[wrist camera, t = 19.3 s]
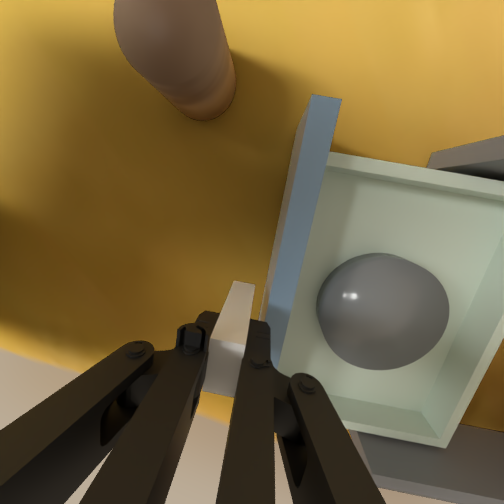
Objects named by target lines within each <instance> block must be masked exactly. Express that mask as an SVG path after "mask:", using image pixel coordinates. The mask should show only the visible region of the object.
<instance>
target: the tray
mask: <svg viewBox="0 0 504 504" xmlns="http://www.w3.org/2000/svg"><path fill="white" fill-rule="evenodd" d="M341 101H342V99H338V98H332V97H326V96H320V95H314V94H312V96H311V98H310V100H309V102H308V105H307V107H306V109H305V111H304V114H303V116H302V118H301V120H300V122H299V125H298V127H297V130H296V135H295V140H294V145H293V150H292V155H291V160H290V165H289V170H288V175H287V180H286V185H285V190H284V195H283V200H282V205H281V210H280V215H279V220H278V225H277V229H276V234H275V239H274V244H273V249H272V254H271V259H270V264H269V269H268V274H267V279H266V284H265V289H264V294H263V299H262V304H261V309H260V314H259V319H258V321H263V322H267V323H268V325H269V326H270V328H271V334H270V335H271V339H270V340H271V361H272V363H273V366H274V367H275V369H276V370H278V371H279V372H280V373H282V374H284V375H286V376H288V377H290V378H291V377H292V375H294V374H295V373H307V374H309V375H311V376H313V377H315V378H316V379H317V380H318V381H319V382H320V383H321V384H322V386H323V388H324V389H325V391H326V393H327V395H328V397H329V399H330V401H331V402H332V404H333V406H334V408H335V410H336V412H337V414H338V415H339V417H340V419H341V421H342V423H343V425H344V426H345V428H346V429H350V430H355V431H360V432H365V433H370V434H375V435H381V436H386V437H391V438H396V439H401V440H406V441H411V442H416V443H421V444H426V445H431V446H436V447H441V448H446V447H447V445H448V443H449V442H450V440H451V438H452V436H453V434H454V432H455V430H456V428H457V426H458V424H459V422H460V420H461V419H462V417H463V415H464V413H465V411H466V409H467V407H468V405H469V403H470V401H471V399H472V397H473V396H474V394H475V392H476V390H477V388H478V386H479V384H480V382H481V380H482V378H483V376H484V375H485V373H486V371H487V369H488V367H489V365H490V363H491V361H492V359H493V357H494V355H495V353H496V352H497V350H498V348H499V346H500V344H501V342H502V340H503V338H504V181H498V180H492V179H487V178H481V177H475V176H469V175H464V174H458V173H452V172H446V171H440V170H435V169H429V168H423V167H417V166H411V165H406V164H400V163H394V162H388V161H382V160H377V159H371V158H365V157H359V156H354V155H348V154H342V153H336V152H330V147H331V143H332V138H333V134H334V130H335V126H336V122H337V118H338V113H339V109H340V105H341ZM368 253H389V254H393V255H397V256H400V257H402V258H404V259H407V260H409V261H411V262H413V263H415V264H417V265H419V266H421V267H423V268H425V269H426V270H428V271H429V272H431V273H432V274H433V275H434V276H435V277H436V278H437V279H438V280H439V281H440V283H441V284H442V285H443V287H444V289H445V291H446V294H447V297H448V300H449V320H448V324H447V327H446V329H445V332H444V334H443V336H442V337H441V339H440V340H439V342H438V343H437V344H436V345H435V346H434V348H433V349H432V350H430V351H429V352H428V353H427V354H426V355H424V356H423V357H422V358H420V359H418V360H417V361H415V362H413V363H411V364H408V365H406V366H403V367H400V368H396V369H391V370H368V369H363V368H359V367H356V366H354V365H351V364H349V363H347V362H346V361H344V360H343V359H341V358H340V357H339V356H337V355H336V354H335V353H334V352H333V351H332V349H331V348H330V347H329V345H328V344H327V342H326V340H325V338H324V335H323V333H322V330H321V327H320V325H319V322H318V318H317V314H316V301H317V296H318V293H319V290H320V288H321V286H322V284H323V282H324V281H325V279H326V278H327V277H328V275H329V274H330V273H331V272H332V271H333V270H334V269H335V268H336V267H338V266H339V265H341V264H342V263H344V262H345V261H347V260H349V259H351V258H354V257H356V256H359V255H363V254H368Z"/></svg>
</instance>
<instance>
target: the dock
mask: <svg viewBox="0 0 504 504" xmlns="http://www.w3.org/2000/svg"><path fill="white" fill-rule="evenodd" d="M427 168H429V169H435V170H440V171H446V172H452V173H458V174H464V175H469V176H475V177H481V178H487V179H492V180H498V181H504V135H503V136H499V137H495V138H491V139H487V140H483V141H479V142H474V143H470V144H466V145H462V146H458V147H454V148H450V149H446V150H441V151H437V152H433V153H432V154H431V157H430V160H429V163H428V165H427ZM349 432H350V435H351V438H352V441H353V443H354V445H355V447H356V449H357V451H358V452H359V454H360V456H361V458H362V460H363V462H364V464H365V465H366V467H367V469H368V471H369V473H370V475H371V477H372V478H373V480H374V482H375V484H376V486H377V487H378V488H383V489H388V490H393V491H398V492H402V493H408V494H413V495H417V496H422V497H427V498H432V499H437V500H442V501H447V502H451V503H456V504H504V432H499V431H493V430H488V429H483V428H478V427H473V426H468V425H463V424H458V426H457V428H456V430H455V432H454V434H453V436H452V438H451V440H450V442H449V443H448V445H447V447H446V448H441V447H436V446H431V445H426V444H421V443H416V442H411V441H406V440H401V439H396V438H391V437H386V436H381V435H375V434H370V433H365V432H360V431H355V430H350V429H349Z"/></svg>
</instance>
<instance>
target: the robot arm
mask: <svg viewBox="0 0 504 504" xmlns="http://www.w3.org/2000/svg"><path fill="white" fill-rule="evenodd" d="M254 290H255V284H250V283H245V282H239V281H234V282H233V284H232V287H231V289H230V291H229V294H228V296H227V299H226V301H225V303H224V306H223V308H222V311H221V313H215V312H210V311H204V312H203V313H201V314H200V315H199V316H198V318H197V320H196V321H195V323H189V324H185V325H182V326H180V327H179V328H178V330H177V339H176V346H175V348H174V349H172V350H166V351H154V347H153V345H152V344H151V343H149V342H146V341H133V342H129V343H127V344H125V345H123V346H122V347H120V348H119V349H117V350H116V351H114V352H113V353H112V354H110V355H109V356H107V357H106V358H104V359H103V360H101V361H100V362H99V363H97V364H96V365H94V366H93V367H91V368H90V369H88V370H87V371H86V372H84V373H83V374H81V375H80V376H78V377H77V378H75V379H74V380H73V381H71V382H70V383H68V384H67V385H65V386H64V387H62V388H61V389H59V390H58V391H57V392H55V393H54V394H52V395H51V396H49V397H48V398H46V399H45V400H44V401H42V402H41V403H39V404H38V405H36V406H35V407H33V408H32V409H31V410H29V411H28V412H26V413H25V414H23V415H22V416H20V417H19V418H18V419H16V420H15V421H13V422H12V423H11V424H9V425H7V426H6V427H5V428H3V429H2V430H0V504H64V503H65V502H66V501H67V500H68V498H69V497H70V496H71V495H72V494H73V493H74V491H76V489H77V488H78V487H79V486H80V485H81V484H82V483H83V482H84V480H85V479H86V478H87V477H88V476H89V475H90V474H91V472H92V471H93V470H94V469H95V468H96V466H97V465H98V464H99V463H100V462H101V461H102V460H103V459H104V458H105V457H106V455H107V454H108V453H109V452H110V451H111V450H112V451H111V452H110V454H109V456H108V457H107V459H106V461H105V462H104V464H103V465H102V467H101V469H100V470H99V472H98V474H97V475H96V477H95V478H94V480H93V482H92V483H91V485H90V487H89V488H88V490H87V491H86V493H85V495H84V496H83V498H82V500H81V501H80V503H79V504H165V501H166V498H167V495H168V492H169V489H170V486H171V483H172V480H173V477H174V474H175V471H176V468H177V465H178V462H179V459H180V456H181V453H182V450H183V447H184V445H185V442H186V438H187V435H188V433H189V430H190V427H191V424H192V421H193V418H194V415H195V412H196V409H197V406H198V403H199V398H200V392H201V389H202V386H203V389H202V391H205V392H210V393H215V394H220V395H224V396H229V397H234V404H233V409H232V414H231V419H230V425H229V431H228V437H227V442H226V448H225V454H224V460H223V465H222V471H221V476H220V482H219V487H218V493H217V498H216V504H275V461H274V432H275V433H277V440H278V444H279V448H280V452H281V456H282V460H283V464H284V468H285V472H286V476H287V480H288V484H289V488H290V492H291V496H292V500H293V504H386V503H385V501H384V499H383V497H382V495H381V493H380V491H379V490H378V488H377V486H376V484H375V482H374V480H373V478H372V477H371V475H370V473H369V471H368V469H367V467H366V465H365V464H364V462H363V460H362V458H361V456H360V454H359V452H358V451H357V449H356V447H355V445H354V443H353V441H352V439H351V438H350V436H349V434H348V432H347V430H346V428H345V426H344V425H343V423H342V421H341V419H340V417H339V415H338V414H337V412H336V410H335V408H334V406H333V404H332V402H331V401H330V399H329V397H328V395H327V393H326V391H325V389H324V388H323V386H322V384H321V383H320V382H319V381H318V380H317V379H316V378H315V377H313V376H311V375H309V374H307V373H295V374H294V375H292V377H291V378H290V377H288V376H286V375H284V374H282V373H280V372H279V371H278V370H276V369H275V367H274V366H273V363H272V361H271V340H270V339H271V335H270V334H271V328H270V326H269V325H268V323H267V322H263V321H258V320H253V319H250V315H251V309H252V303H253V297H254Z"/></svg>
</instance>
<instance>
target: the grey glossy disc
mask: <svg viewBox="0 0 504 504" xmlns="http://www.w3.org/2000/svg"><path fill="white" fill-rule="evenodd" d="M316 314H317V318H318V322H319V325H320V327H321V330H322V333H323V335H324V338H325V340H326V342H327V344H328V345H329V347H330V348H331V349H332V351H333V352H334V353H335V354H336V355H337V356H339V357H340V358H341V359H343V360H344V361H346V362H347V363H349V364H351V365H354V366H356V367H359V368H363V369H368V370H391V369H396V368H400V367H403V366H406V365H408V364H411V363H413V362H415V361H417V360H418V359H420V358H422V357H423V356H424V355H426V354H427V353H428V352H429V351H430V350H432V349H433V348H434V346H435V345H436V344H437V343H438V342H439V340H440V339H441V337H442V336H443V334H444V332H445V329H446V327H447V324H448V320H449V300H448V297H447V294H446V291H445V289H444V287H443V285H442V284H441V283H440V281H439V280H438V279H437V278H436V277H435V276H434V275H433V274H432V273H431V272H429V271H428V270H426V269H425V268H423V267H421V266H419V265H417V264H415V263H413V262H411V261H409V260H407V259H404V258H402V257H400V256H397V255H393V254H389V253H368V254H363V255H359V256H356V257H354V258H351V259H349V260H347V261H345V262H344V263H342V264H341V265H339V266H338V267H336V268H335V269H334V270H333V271H332V272H331V273H330V274H329V275H328V277H327V278H326V279H325V281H324V282H323V284H322V286H321V288H320V290H319V293H318V296H317V301H316Z"/></svg>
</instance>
